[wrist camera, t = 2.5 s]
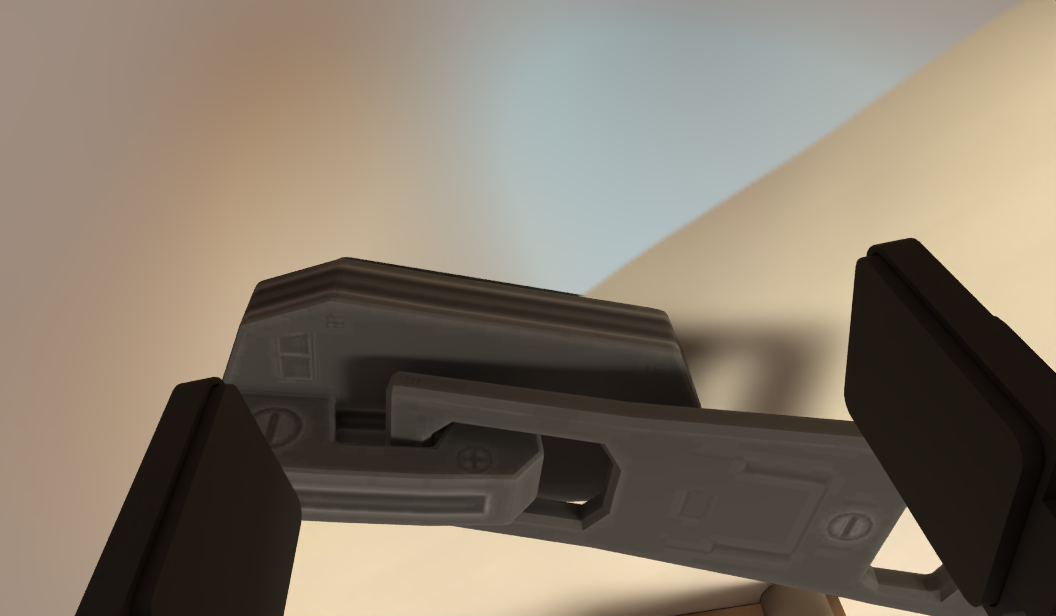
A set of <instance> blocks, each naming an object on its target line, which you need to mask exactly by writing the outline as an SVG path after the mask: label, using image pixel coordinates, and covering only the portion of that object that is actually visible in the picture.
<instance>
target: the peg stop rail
mask: <svg viewBox="0 0 1056 616" xmlns="http://www.w3.org/2000/svg"><path fill="white" fill-rule="evenodd" d="M760 602H761V603H759V604H753V605H746V606H740V607H733V608H726V609H720V610H713V611H707V612H700V613H694V614H687V615H680V616H846V614H845V612H844V610H843V607H842V605H841V603H840V600H839V598H838V596H833V595H828V594H823V593H818V592H813V591H808V590H803V589H798V588H793V587H788V586H783V585H778V584H774V585H772V586H771V587H769V588H768V589H767V590H766V591H765V592H764V593H763V594H762V596H761V600H760Z"/></svg>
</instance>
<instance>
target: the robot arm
mask: <svg viewBox="0 0 1056 616" xmlns="http://www.w3.org/2000/svg"><path fill="white" fill-rule="evenodd" d="M844 397H845V402H846V406H847V409H848V412H849V414H850V415H851V417H852V419H853V420H854V422H855V424H856V425H857V427H858V428H859V430H860V432H861V433H862V435H863V436H864V438H865V440H866V441H867V443H868V444H869V446H870V448H871V449H872V451H873V452H874V454H875V456H876V457H877V459H878V461H879V462H880V464H881V465H882V467H883V469H884V470H885V472H886V473H887V475H888V477H889V478H890V480H891V481H892V483H893V485H894V486H895V488H896V489H897V491H898V493H899V494H900V496H901V497H902V499H903V501H904V502H905V504H906V505H907V507H908V509H909V510H910V512H911V513H912V515H913V517H914V518H915V520H916V521H917V523H918V525H919V526H920V528H921V529H922V531H923V533H924V534H925V536H926V537H927V539H928V541H929V542H930V544H931V546H932V547H933V549H934V550H935V552H936V554H937V555H938V557H939V558H940V560H941V562H942V563H943V565H944V566H945V568H946V570H947V571H948V573H949V574H950V576H951V578H952V579H953V581H954V582H955V584H956V586H957V587H958V589H959V590H960V592H961V594H962V595H963V597H964V598H965V599H966V601H967V602H968V603H969V604H970V605H972V606H974V607H980V606H982V607H983V608H984V610H985V611H986V613H987V614H988V616H1056V373H1055V372H1054V371H1053V370H1052V369H1051V368H1050V367H1049V366H1048V365H1047V364H1046V363H1045V362H1044V361H1043V360H1042V359H1041V358H1040V357H1039V356H1038V355H1037V354H1036V353H1035V352H1034V351H1033V350H1032V349H1031V348H1030V347H1029V346H1028V345H1027V344H1026V343H1025V342H1024V341H1023V340H1022V339H1021V338H1020V337H1019V336H1018V335H1017V334H1016V333H1015V332H1014V331H1013V330H1012V329H1011V328H1010V327H1009V326H1008V325H1007V324H1006V323H1005V322H1003V321H1002V320H1001V319H999V318H998V317H996V316H993V315H992V314H991V313H990V312H989V311H988V310H987V309H986V308H985V307H984V306H983V305H982V304H981V303H980V302H979V301H978V300H977V299H976V298H975V297H974V296H973V295H972V294H971V293H970V292H969V291H968V290H967V289H966V288H965V287H964V286H963V285H962V284H961V283H960V282H959V281H958V280H957V279H956V278H955V277H954V276H953V275H952V274H951V273H950V272H949V271H948V270H947V269H946V268H945V267H944V266H943V265H942V264H941V263H940V262H939V261H938V260H937V259H936V258H935V257H934V256H933V255H932V254H931V253H930V252H929V251H928V250H927V249H926V248H925V247H924V246H923V245H922V244H921V243H920V242H919V241H918V240H916V239H915V238H907V239H902V240H897V241H892V242H887V243H882V244H877V245H873V246H871V247H870V248H869V250H868V252H867V256H866V257H862V258H860V259H858V261H857V263H856V269H855V280H854V290H853V301H852V312H851V322H850V333H849V344H848V354H847V365H846V376H845V386H844ZM301 519H302V511H301V504H300V501H299V498H298V496H297V494H296V492H295V490H294V489H293V487H292V485H291V483H290V481H289V480H288V478H287V476H286V474H285V472H284V471H283V469H282V467H281V465H280V463H279V462H278V460H277V458H276V456H275V454H274V453H273V451H272V449H271V447H270V445H269V444H268V442H267V440H266V438H265V436H264V435H263V433H262V431H261V429H260V427H259V426H258V424H257V422H256V420H255V418H254V417H253V415H252V413H251V411H250V409H249V408H248V406H247V404H246V402H245V400H244V399H243V397H242V395H241V393H240V391H239V390H238V388H237V387H236V386H235V385H234V384H225V383H224V381H223V380H221V379H220V378H218V377H211V378H206V379H201V380H196V381H191V382H187V383H181V384H179V385H177V386H176V387H175V388H174V390H173V392H172V394H171V396H170V398H169V401H168V403H167V405H166V408H165V410H164V412H163V414H162V417H161V419H160V421H159V424H158V426H157V428H156V431H155V433H154V435H153V437H152V440H151V442H150V445H149V447H148V449H147V451H146V453H145V456H144V458H143V460H142V463H141V465H140V467H139V470H138V472H137V474H136V476H135V479H134V481H133V483H132V486H131V488H130V490H129V493H128V495H127V497H126V500H125V502H124V504H123V506H122V509H121V511H120V513H119V516H118V518H117V520H116V522H115V525H114V527H113V529H112V532H111V534H110V536H109V538H108V541H107V543H106V545H105V548H104V550H103V552H102V554H101V557H100V559H99V561H98V564H97V566H96V568H95V571H94V573H93V575H92V577H91V580H90V582H89V584H88V587H87V589H86V591H85V593H84V596H83V598H82V600H81V603H80V605H79V607H78V610H77V612H76V614H75V616H283V615H284V610H285V605H286V599H287V594H288V589H289V584H290V578H291V573H292V568H293V563H294V557H295V552H296V547H297V542H298V536H299V531H300V526H301Z"/></svg>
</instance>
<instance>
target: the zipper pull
mask: <svg viewBox="0 0 1056 616" xmlns="http://www.w3.org/2000/svg"><path fill="white" fill-rule="evenodd" d="M581 296H582V295H580V294H573V293H568V292H561V291H555V290H549V289H543V288H536V287H530V286H524V285H518V284H512V283H505V282H500V281H494V280H487V279H481V278H475V277H469V276H463V275H456V274H450V273H444V272H438V271H432V270H426V269H420V268H413V267H407V266H401V265H395V264H389V263H383V262H376V261H370V260H364V259H358V258H352V257H341V258H340V259H337V260H333V261H330V262H326V263H323V264H320V265H316V266H312V267H309V268H305V269H302V270H298V271H295V272H291V273H288V274H284V275H281V276H277V277H274V278H270V279H267V280H263V281H261V282H259V283H258V284H257V285H256V287H255V289H254V292H253V294H252V297H251V299H250V302H249V304H248V306H247V309H246V311H245V314H244V316H243V318H242V321H241V323H240V326H239V329H238V332H237V335H236V339H235V342H234V345H233V348H232V351H231V354H230V357H229V360H228V364H227V367H226V370H225V373H224V376H223V379H222V380H223V381H224V383H225V384H234V385H235V386H236V387H237V388H238V390H239V391H240V393H241V395H242V397H243V399H244V400H245V402H246V404H247V406H248V408H249V409H250V411H251V413H252V415H253V417H254V418H255V420H256V422H257V424H258V426H259V427H260V429H261V431H262V433H263V435H264V436H265V438H266V440H267V442H268V444H269V445H270V447H271V449H272V451H273V453H274V454H275V456H276V458H277V460H278V462H279V463H280V465H281V467H282V469H283V471H284V472H285V474H286V476H287V478H288V480H289V481H290V483H291V485H292V487H293V489H294V490H295V492H296V494H297V496H298V498H299V501H300V504H301V511H302V519H301V520H304V521H322V522H343V523H369V524H395V525H421V526H456V527H463V528H469V529H476V530H482V531H488V532H495V533H501V534H508V535H514V536H521V537H527V538H534V539H540V540H547V541H553V542H560V543H566V544H573V545H579V546H586V547H592V548H597V549H602V550H607V551H612V552H617V553H622V554H627V555H632V556H637V557H642V558H647V559H652V560H657V561H662V562H667V563H672V564H677V565H682V566H687V567H692V568H697V569H703V570H708V571H713V572H718V573H723V574H728V575H733V576H738V577H743V578H748V579H753V580H758V581H763V582H768V583H773V584H778V585H783V586H788V587H793V588H798V589H803V590H808V591H813V592H818V593H823V594H828V595H833V596H838V597H843V598H848V599H852V600H856V601H861V602H865V603H869V604H874V605H879V606H885V607H890V608H895V609H900V610H905V611H910V612H915V613H920V614H925V615H930V616H988V614H987V613H986V611H985V610H984V608H983V607H982V606H980V607H974V606H972V605H970V604H969V603H968V602H967V601H966V599H965V598H964V597H963V595H962V594H961V592H960V590H959V589H958V587H957V586H956V584H955V582H954V581H953V579H952V578H951V576H950V574H949V573H948V571H947V570H946V568H945V566H944V565H943V564H942V565H941V566H940V567H939V568H938V569H937V570H935V571H934V572H933V573H931V574H926V575H925V574H918V573H911V572H904V571H897V570H890V569H883V568H875V567H872V566H870V564H871V563H872V561H873V559H874V558H875V556H876V554H877V553H878V551H879V550H880V548H881V546H882V545H883V543H884V542H885V540H886V539H887V537H888V535H889V534H890V532H891V531H892V529H893V527H894V526H895V524H896V523H897V521H898V519H899V518H900V516H901V515H902V513H903V512H904V510H905V508H906V507H907V505H906V504H905V502H904V501H903V499H902V497H901V496H900V494H899V493H898V491H897V489H896V488H895V486H894V485H893V483H892V481H891V480H890V478H889V477H888V475H887V473H886V472H885V470H884V469H883V467H882V465H881V464H880V462H879V461H878V459H877V457H876V456H875V454H874V452H873V451H872V449H871V448H870V446H869V444H868V443H867V441H866V440H865V438H864V436H863V435H862V433H861V432H860V430H859V428H858V427H857V425H856V424H855V422H854V421H844V420H833V419H821V418H809V417H798V416H786V415H774V414H763V413H751V412H740V411H728V410H716V409H705V408H701V404H700V402H699V399H698V396H697V393H696V390H695V387H694V384H693V381H692V378H691V376H690V373H689V370H688V367H687V364H686V362H685V359H684V356H683V354H682V351H681V349H680V346H679V344H678V341H677V338H676V336H675V333H674V331H673V328H672V325H671V323H670V320H669V318H668V315H667V314H666V313H665V312H664V311H661V310H657V309H653V308H648V307H642V306H636V305H630V304H623V303H617V302H610V301H604V300H597V299H591V298H585V297H581ZM574 501H587V502H586V503H584V504H575V503H568V502H574Z"/></svg>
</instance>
